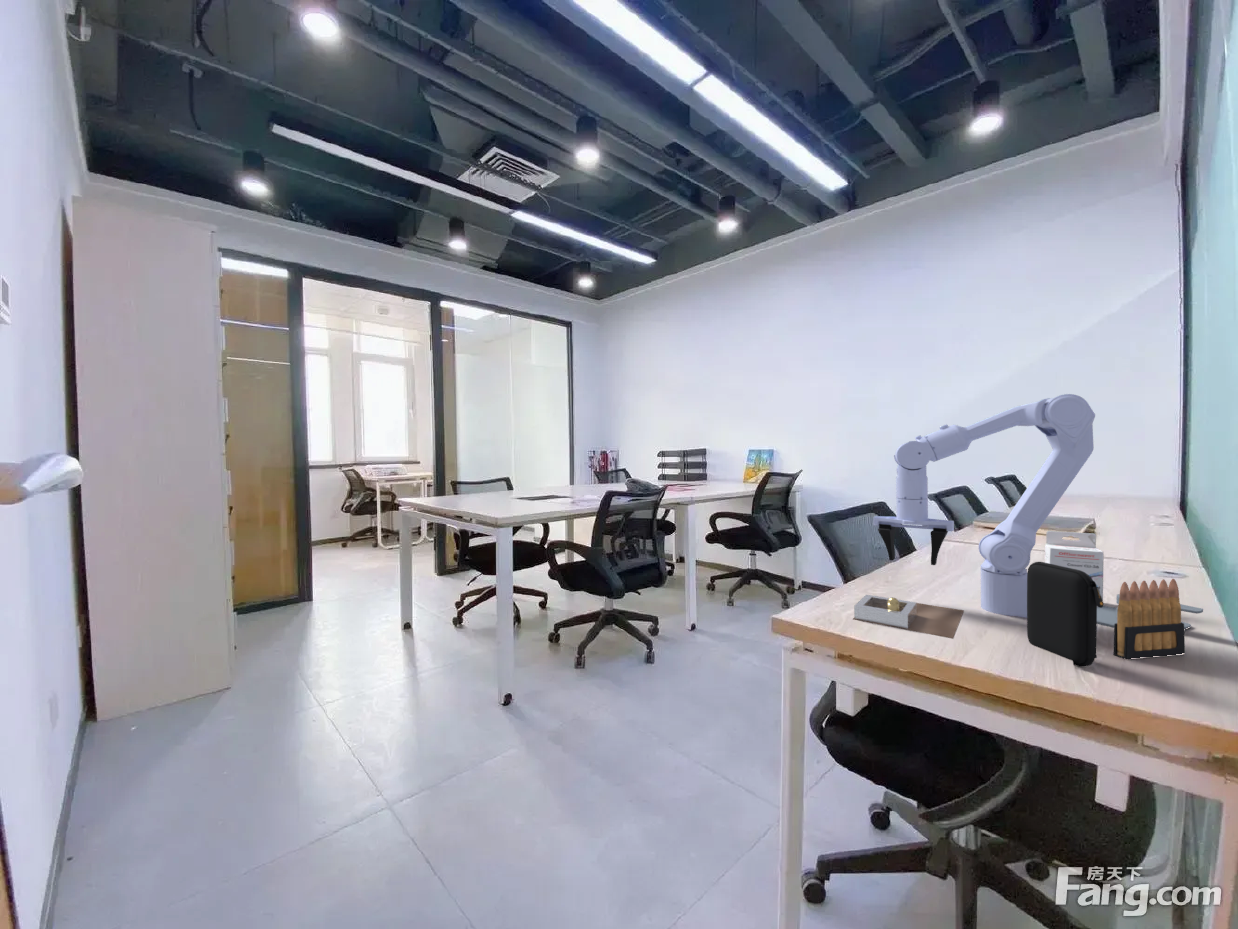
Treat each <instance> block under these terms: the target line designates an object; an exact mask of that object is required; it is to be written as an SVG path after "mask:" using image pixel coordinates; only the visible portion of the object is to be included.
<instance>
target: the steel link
mask: <svg viewBox="0 0 1238 929" xmlns="http://www.w3.org/2000/svg"><path fill="white" fill-rule="evenodd" d="M889 598H890V597H884V596H878V595H871V594H865V595H864V596H863V597H862V598H861V599H860V600H858V602H857V603H855V605H854V606H853V607H854V610H853V613H854V614H853V615H854V617H853V618H854V619H859V620H864V621H870V622H875V623H880V624H885V625H891V626H896V627H901V628H906V629H908V628H909V626H910V625H911V623H912V622H913V620H914V619H915V617H916V616H917V603H918V602H916V601H909V600H903V599H898V598H896V599H897V600H898V601H899V611H893V610H888V609H887V601H888V599H889ZM859 620H858V621H859ZM864 621H863V622H864ZM885 625H884V626H885Z"/></svg>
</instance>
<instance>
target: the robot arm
mask: <svg viewBox="0 0 1238 929" xmlns="http://www.w3.org/2000/svg"><path fill="white" fill-rule="evenodd" d="M1095 418H1096V413H1095V412H1094V411H1093V408H1092V407H1091V406H1090V404H1089V402H1088V401H1087V400H1086V399H1085V398H1083V397H1081V396H1080V395H1077V394H1072V393H1066V394H1065V393H1064V394H1060V395H1057V396H1055V397H1051V398H1050V397H1047V398H1043V399H1041V400H1038V401H1032V402H1029V403H1026V404H1022V405H1017V406H1013V407H1011V408H1009V409H1008V408H1007V409H1006V410H1003V411H1001V412H999V413H996V414H993V415H991V416H989V417H987V418H984V419H982V420H979V421H977V422H974V423H972V424H969V425H967V426H964V427H963V426H960V425H958V424H951V425H948V424H947V423H946V424H943V425H941V426H939V429H938V430H935V431H933V432H931V433H928V434H926V435H923V436H921V435H917V436H914V439H915V440H910V441H908V442H904V443H901V444H900V445H899V446H898V447H897V448H896V450H895V453H894V455H893V457H894V461H895V463H896V464H897V465H896V466H897V467H896V477H895V483H896V484H895V487H896V488H895V490H896V492H895V494H896V495H895V496H896V498H895V499H896V508H895V509H896V516H885V515H884V516H883V515H882V516H881V515H880V516H879V515H875V516H873V517H872V518H873V519H872V520H873V524H872V525H873V527H875V526H876V527H878V528H877V531H878V533H879V535H880V536H881V538H882V541H883V543H884V545H885V547H886V550H887V551H886V552H887V554H888V560H889V561H894V560H895V559H896V549H895V535H896V528H907V529H908V528H909V529H923V530H931V531H930V540H931V552H930V553H931V554H930V555H931V556H930V565H931V566H936V565H937V562H938V556H939V552H940V549H941V546H942V545H943V542H944V540H945V538H946V537H947V534H948V532H954V530H955V525H954V524H955V521H954V520H950V519H949V520H948V519H947V520H946V519H936V518H930V517H929V504H928V503H929V499H928V498H929V495H928V494H929V492H928V491H929V490H928V489H929V486H928V484H929V482H928V481H929V480H928V475H927V465H928V464H929V462H932V463H934V462H938V461H940V460H942V459H945V458H948V457H951V456H955V455H957V454H959V453H963V452H965V451H967V450H968V449H969V448H970V446H971V443H972V442H973V441H975V440H979V439H981V438H985V437H987V436H991V435H993V434H997V433H999V432H1002V431H1005V430H1007V429H1011V428H1013V427H1017V426H1018V427H1035V428H1037V429H1038V430H1039V431H1040V432H1041V433H1042V434H1043V435H1044V436H1045V437H1046V439H1047V441H1048V442H1049V444H1050V446H1051V448H1052V450H1051V452H1050V454H1049V455H1048V456H1047V458H1046V459H1045V461H1044V463H1043V464H1042V466H1041V467H1040V468H1039V469H1038V471H1037V473H1036V474H1035V475H1034V478H1033V479H1032V480H1031V482H1029V485H1028V486H1027V488H1026V489H1025V490H1024V492H1023V494H1022V495H1021V496H1020V498H1019V499H1018V501H1017V502H1016V503H1015V505H1014V507H1013V508H1012V510H1011V511H1010V513H1009V514H1008V516H1007V517H1006V519H1004V520H1003V521H1002V522H1000V523H999V524H997V525H996V527H995V528H994V530H993V531H991V532H990V533H988V534H986V535H984V536H982V538H981V539H980V541H979V543H978V552H979V554H980V556H981V557H982V558H983V559H984V561H983V562H982V563H981V564H980V608H981V609H982V610H984V611H986V612H988V613H989V612H990V613H992V614H996V615H1002V616H1011V617H1020V618H1025V619H1027V573H1028V567H1029V566H1030V562H1031V553H1032V550H1033V548H1034V547H1035V545H1036V540H1037V539H1036V538H1037V532H1038V531H1039V530H1040V528H1041V526H1042V525H1043V524H1044V522H1045V521H1046V520H1047V518H1048V516H1049V515H1050V514H1051V512H1052V511H1053V509H1054V508H1055V507H1056V506H1057V503H1058V502H1059V501H1060V500H1061V498H1062V497H1063V495H1064V494H1065V492H1066V491H1067V490H1068V488H1069V486H1070V485H1071V483H1072V482H1073V481H1074V479H1075V478H1076V477H1077V475H1078V473H1079V472H1080V471H1081V470H1082V468H1083V466H1084V465H1086V462H1087V461H1088V459H1089V458H1090V456H1091V455H1092V454H1093V451H1094V426H1093V425H1094V420H1095Z"/></svg>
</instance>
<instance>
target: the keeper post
mask: <svg viewBox="0 0 1238 929" xmlns="http://www.w3.org/2000/svg"><path fill="white" fill-rule="evenodd" d="M888 598H889V599H888V601H887V609H888V610H893V611H899V601H898V600H899V599H898V598H896V597H888ZM897 599H898V600H897Z"/></svg>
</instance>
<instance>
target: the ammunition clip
mask: <svg viewBox="0 0 1238 929" xmlns="http://www.w3.org/2000/svg"><path fill="white" fill-rule="evenodd" d="M1119 594H1120V595H1119V604H1117V607H1118V609H1117V623H1115V624H1114V628H1113V629H1114V630H1113V631H1114V632H1113V655H1114V656H1116V657H1118V658H1121V657H1122V659H1124V658H1125V659H1124V660H1127V659H1131V658H1140V657H1153V656H1167V655H1176V654H1182V653H1185V654H1186V645H1185V642H1186V641H1185V631H1184V623H1181V622H1182V611H1181V605H1180V604H1181V602H1180V590H1179V585H1178V583H1177V581H1176V579H1175V578H1172V579H1171V580H1170V582H1169V584H1168V583H1167V581H1166V580H1165V579H1162V580H1161V581H1160V583H1159V585H1158V584H1157V581H1156V580H1155V579H1152V580H1151V582H1150V584H1149V585H1148V583H1147V581H1146V580H1143V581H1142V582H1141V583H1140V586H1139V584H1137V582H1136V581H1135V580H1134V581H1133V582H1132V583H1131V584H1130V587H1129V585H1128V583H1127V582H1126V581H1123V583H1121V586H1120V590H1119ZM1131 660H1132V659H1131Z"/></svg>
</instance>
